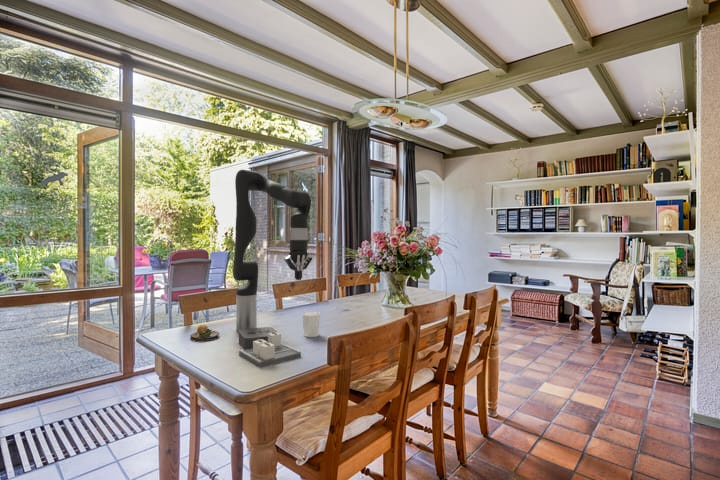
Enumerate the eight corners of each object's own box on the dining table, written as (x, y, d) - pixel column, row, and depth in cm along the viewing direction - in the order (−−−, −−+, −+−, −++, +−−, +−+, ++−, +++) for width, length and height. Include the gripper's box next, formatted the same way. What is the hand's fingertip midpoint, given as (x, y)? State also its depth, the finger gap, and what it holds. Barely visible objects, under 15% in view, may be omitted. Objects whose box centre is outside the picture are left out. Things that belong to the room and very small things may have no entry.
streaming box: (245, 352, 147) (245, 339, 147) (237, 342, 160) (237, 330, 160) (280, 346, 154) (280, 334, 154) (270, 337, 167) (270, 326, 167)
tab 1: (252, 353, 140) (253, 339, 140) (262, 351, 142) (262, 337, 142) (257, 355, 137) (257, 341, 137) (267, 353, 140) (267, 339, 140)
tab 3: (267, 344, 150) (267, 332, 150) (276, 343, 153) (276, 330, 152) (272, 347, 147) (272, 334, 147) (280, 345, 150) (281, 332, 150)
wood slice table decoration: (222, 339, 164) (222, 322, 164) (194, 343, 157) (194, 326, 157) (214, 332, 174) (214, 317, 174) (187, 337, 167) (187, 320, 166)
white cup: (299, 336, 169) (299, 314, 169) (307, 332, 176) (308, 311, 176) (314, 338, 166) (314, 316, 166) (322, 334, 173) (323, 312, 173)
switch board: (239, 355, 143) (239, 350, 143) (278, 346, 154) (278, 341, 154) (259, 367, 131) (259, 361, 131) (300, 356, 142) (300, 351, 142)
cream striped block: (259, 356, 136) (260, 342, 136) (269, 354, 138) (269, 341, 138) (264, 359, 133) (265, 345, 133) (274, 357, 136) (274, 343, 135)
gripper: (306, 238, 165) (306, 277, 166) (280, 238, 156) (280, 280, 157) (316, 239, 160) (316, 279, 160) (289, 239, 151) (289, 282, 151)
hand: (298, 279), depth 158 cm, fingers closed
